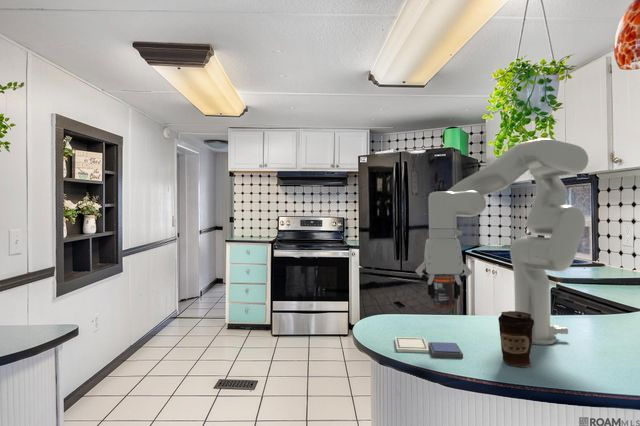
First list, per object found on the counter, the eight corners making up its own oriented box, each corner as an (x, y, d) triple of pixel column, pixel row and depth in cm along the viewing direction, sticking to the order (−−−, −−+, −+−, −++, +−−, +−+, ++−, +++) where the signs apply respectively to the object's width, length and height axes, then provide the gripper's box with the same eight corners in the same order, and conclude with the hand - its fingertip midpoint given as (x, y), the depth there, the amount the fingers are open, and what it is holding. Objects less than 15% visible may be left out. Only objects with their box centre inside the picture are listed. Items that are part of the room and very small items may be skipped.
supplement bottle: (452, 303, 106) (451, 265, 106) (457, 309, 101) (456, 268, 101) (431, 303, 107) (430, 265, 107) (435, 309, 101) (434, 268, 101)
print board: (424, 340, 113) (424, 337, 113) (429, 352, 104) (429, 349, 104) (394, 339, 115) (394, 336, 115) (396, 351, 105) (396, 348, 105)
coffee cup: (534, 373, 90) (533, 320, 90) (497, 365, 94) (496, 315, 94) (535, 360, 97) (534, 311, 97) (500, 354, 101) (500, 307, 101)
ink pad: (456, 347, 107) (456, 342, 107) (463, 358, 99) (462, 352, 99) (428, 346, 108) (428, 341, 108) (432, 357, 100) (432, 351, 100)
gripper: (470, 233, 106) (471, 295, 106) (410, 234, 109) (411, 294, 109) (478, 235, 99) (479, 301, 99) (413, 235, 101) (414, 300, 101)
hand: (443, 297), depth 104 cm, fingers closed on supplement bottle, 6 cm apart
